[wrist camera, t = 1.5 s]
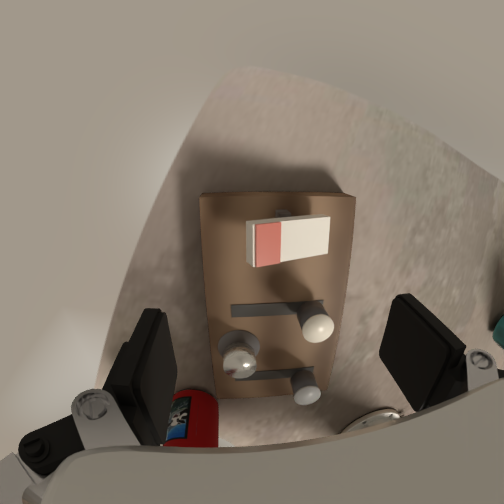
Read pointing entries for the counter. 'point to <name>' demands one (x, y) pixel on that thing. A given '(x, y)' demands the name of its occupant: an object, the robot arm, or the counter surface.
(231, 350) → the button
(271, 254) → the block
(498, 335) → the beverage bottle
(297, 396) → the lever grey
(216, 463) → the robot arm
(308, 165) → the counter surface
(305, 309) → the lever ivory
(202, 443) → the beverage can
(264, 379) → the console
